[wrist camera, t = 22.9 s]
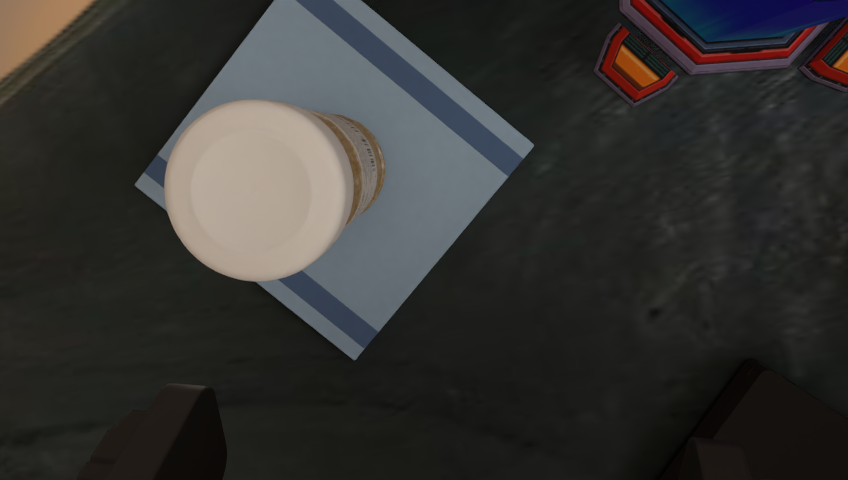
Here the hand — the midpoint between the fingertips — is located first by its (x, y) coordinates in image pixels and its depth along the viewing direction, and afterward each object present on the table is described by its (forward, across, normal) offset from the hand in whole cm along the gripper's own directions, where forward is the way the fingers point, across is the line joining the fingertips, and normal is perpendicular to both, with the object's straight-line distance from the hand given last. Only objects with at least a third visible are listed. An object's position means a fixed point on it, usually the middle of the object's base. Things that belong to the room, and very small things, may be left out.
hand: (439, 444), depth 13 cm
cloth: (+19, +7, +5) cm, 21 cm away
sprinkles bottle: (+19, +7, +5) cm, 21 cm away
